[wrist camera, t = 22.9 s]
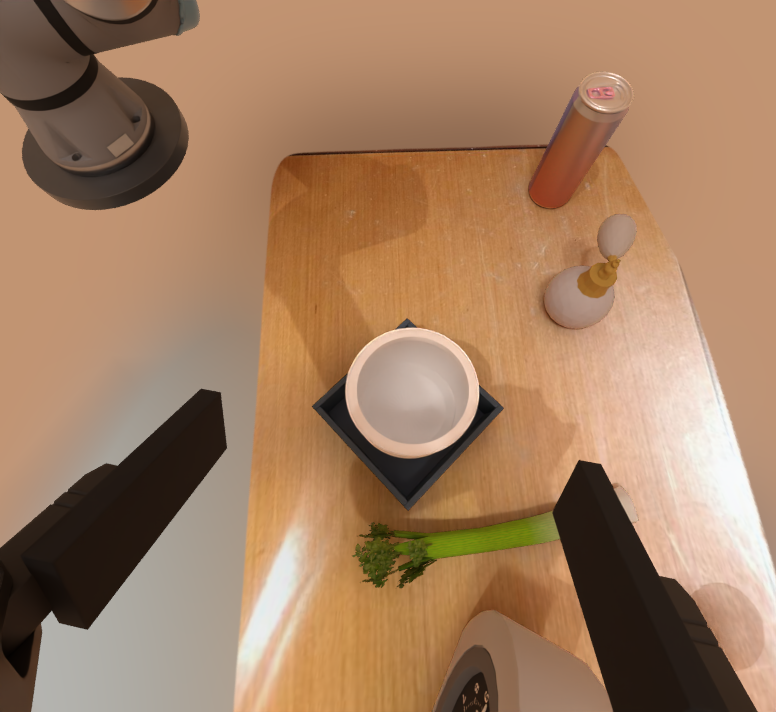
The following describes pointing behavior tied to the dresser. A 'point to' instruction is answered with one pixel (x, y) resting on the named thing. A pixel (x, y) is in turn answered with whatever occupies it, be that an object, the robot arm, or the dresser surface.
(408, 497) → the tray
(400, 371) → the jar
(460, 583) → the dresser surface
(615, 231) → the perfume bottle
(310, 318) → the dresser surface
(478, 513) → the dresser surface
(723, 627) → the dresser surface
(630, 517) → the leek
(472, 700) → the alarm clock
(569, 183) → the beverage can
